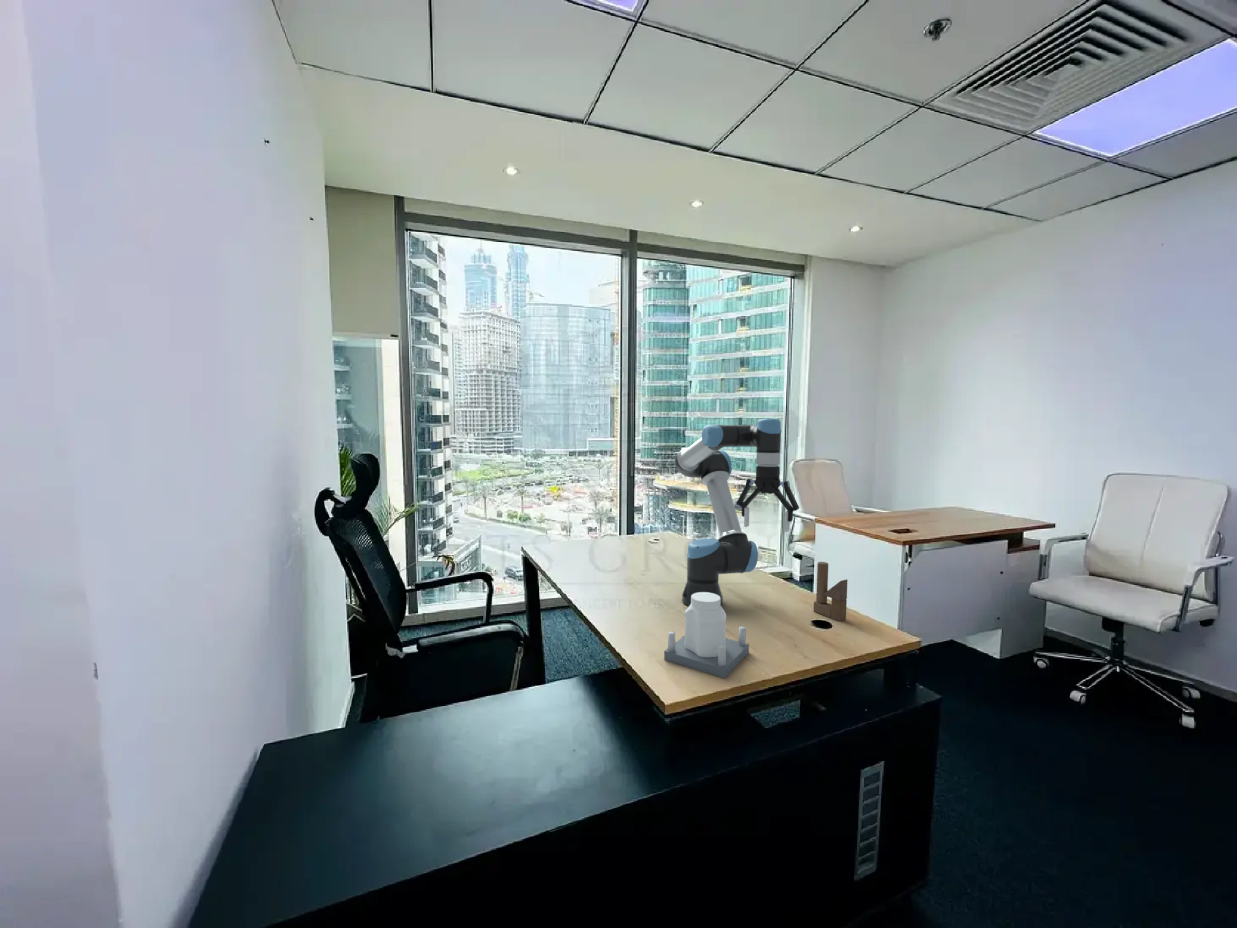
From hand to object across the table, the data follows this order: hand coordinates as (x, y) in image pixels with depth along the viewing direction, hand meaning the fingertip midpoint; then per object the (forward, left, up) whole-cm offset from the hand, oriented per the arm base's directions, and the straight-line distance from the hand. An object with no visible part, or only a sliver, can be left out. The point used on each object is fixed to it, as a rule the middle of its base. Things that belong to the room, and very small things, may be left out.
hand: (766, 528), depth 164 cm
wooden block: (+17, +18, -32) cm, 41 cm away
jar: (-5, -36, -29) cm, 47 cm away
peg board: (-5, -35, -32) cm, 47 cm away
